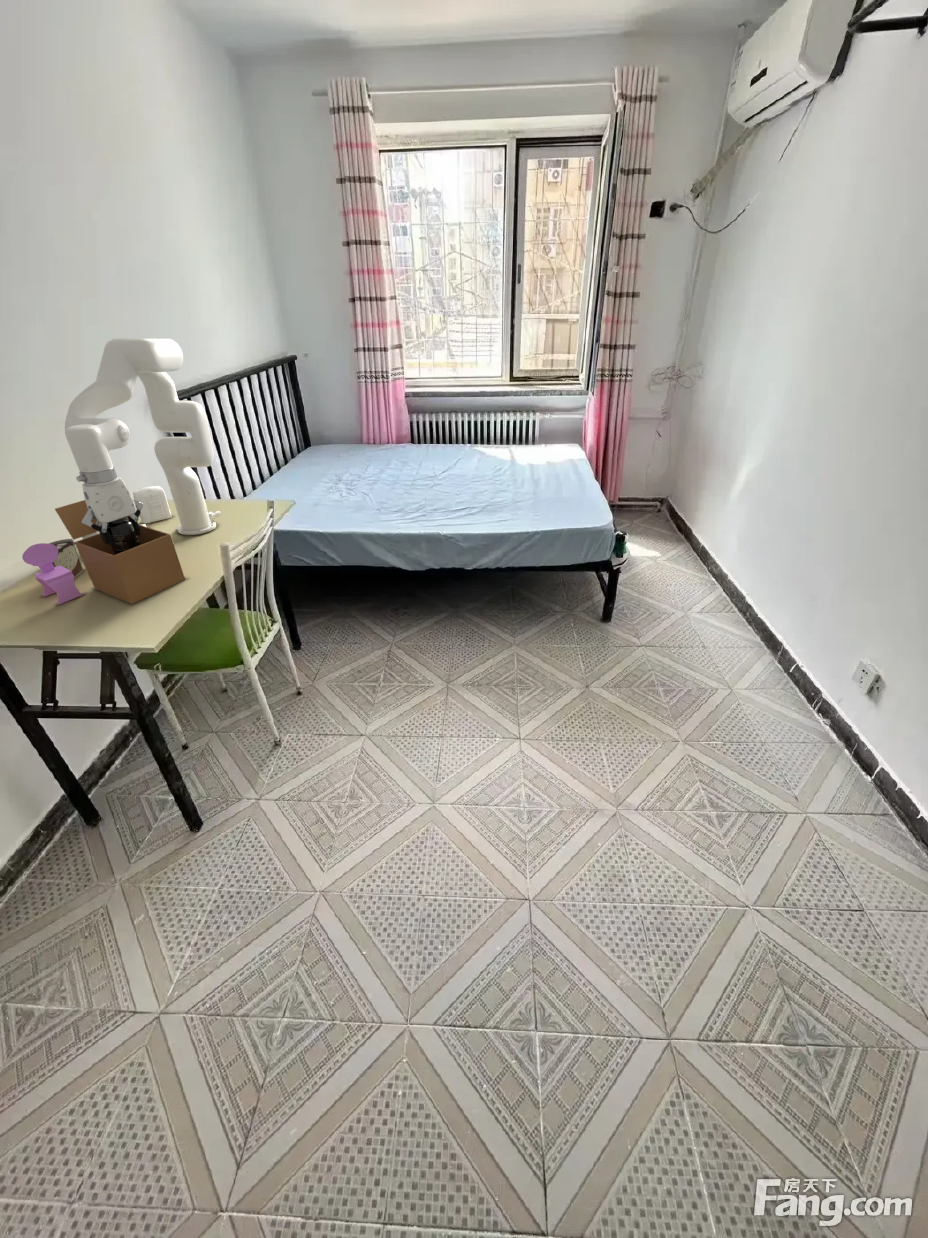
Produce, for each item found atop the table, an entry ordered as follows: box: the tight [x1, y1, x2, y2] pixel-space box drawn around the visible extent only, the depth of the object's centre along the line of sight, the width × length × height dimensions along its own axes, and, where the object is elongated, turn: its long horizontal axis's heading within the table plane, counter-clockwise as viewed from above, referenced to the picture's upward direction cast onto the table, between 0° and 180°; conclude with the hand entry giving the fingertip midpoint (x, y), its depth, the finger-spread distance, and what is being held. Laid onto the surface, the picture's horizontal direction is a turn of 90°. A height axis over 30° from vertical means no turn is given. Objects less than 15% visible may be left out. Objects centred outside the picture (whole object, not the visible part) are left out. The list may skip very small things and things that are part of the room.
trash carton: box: [74, 523, 186, 605], centre depth 147 cm, size 18×16×14 cm
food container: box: [47, 538, 84, 579], centre depth 151 cm, size 12×6×10 cm, turn 5°
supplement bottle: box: [107, 517, 140, 555], centre depth 143 cm, size 7×7×12 cm
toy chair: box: [22, 542, 83, 606], centre depth 141 cm, size 8×9×15 cm
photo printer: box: [132, 485, 173, 525], centre depth 189 cm, size 10×4×12 cm, turn 134°
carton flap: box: [54, 499, 128, 541], centre depth 145 cm, size 9×16×1 cm
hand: (123, 539), depth 144 cm, fingers closed on supplement bottle, 6 cm apart
